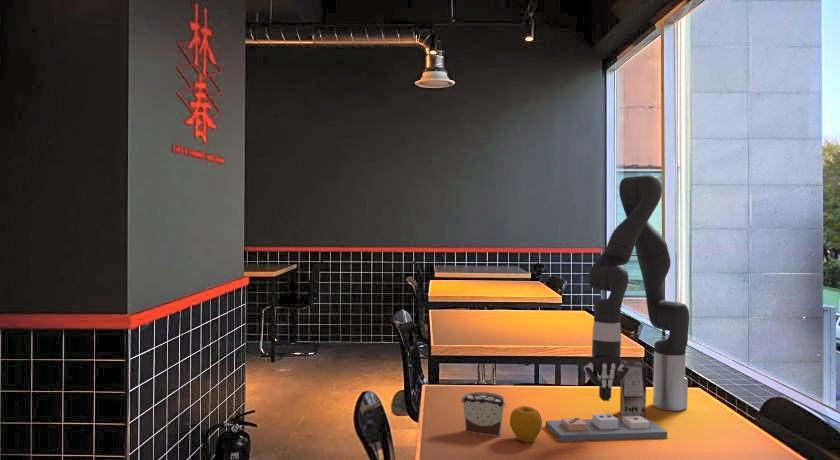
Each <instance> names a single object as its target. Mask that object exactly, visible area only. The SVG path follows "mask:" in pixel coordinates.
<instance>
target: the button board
mask: <svg viewBox="0 0 840 460" xmlns="http://www.w3.org/2000/svg"><path fill="white" fill-rule="evenodd" d="M616 418H617V417H616ZM581 419H582V420H583V421H584V422H585V423H586V424H587V431H567V430H566V429H565V428H564V427H562V426H561V423H562V419H557V420H552V419H551V420H550V419H549V420H545V427H546V428H547V429H548V430H549V431H550V433H551V434H553V436H555V437H556V438H557V440H559V441H560V442H581V441H582V442H583V441H584V442H585V441H607V440H609V441H611V440H612V441H613V440H638V439H639V440H641V439H644V440H645V439H665V438H666V439H667V438H668V431H666V429H664V428H662V427H661V426H659V425H658V424H656V423H655V422H653V421H652V420H650V419H648V418H647V417H645V418H644V419H646V420H647V421H649V429H630V428H628V427H627V426H626V425H624V424H623V417H622V418H621V417H618V418H617V419H618V429H603V430H600V429H599V428H597V427H596V426H595V425H594V424H593V423H592V418H590V419H589V418H587V419H586V418H584V419H583V418H581Z"/></svg>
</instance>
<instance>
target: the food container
mask: <svg viewBox="0 0 840 460" xmlns="http://www.w3.org/2000/svg"><path fill="white" fill-rule="evenodd" d="M460 403H461V404H462V405H463V412H464V413H463V414H464V415H463V416H464V425H465V432H466V431H469V432H473V433H472V434H476V433H480V434H479V435H483V434H486V435H485V436H492V437H498V438H499V437H501V431H502V421H503V413H504V409H505V408H507V404H506V400H505V398H504V397H503V396H502V395H500V394H499V393H498V394H497V393H495V392H486V391H482V392H481V391H474V392H469V393H468V392H467V393H465V394H463V395H462V397H461V401H460Z"/></svg>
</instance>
